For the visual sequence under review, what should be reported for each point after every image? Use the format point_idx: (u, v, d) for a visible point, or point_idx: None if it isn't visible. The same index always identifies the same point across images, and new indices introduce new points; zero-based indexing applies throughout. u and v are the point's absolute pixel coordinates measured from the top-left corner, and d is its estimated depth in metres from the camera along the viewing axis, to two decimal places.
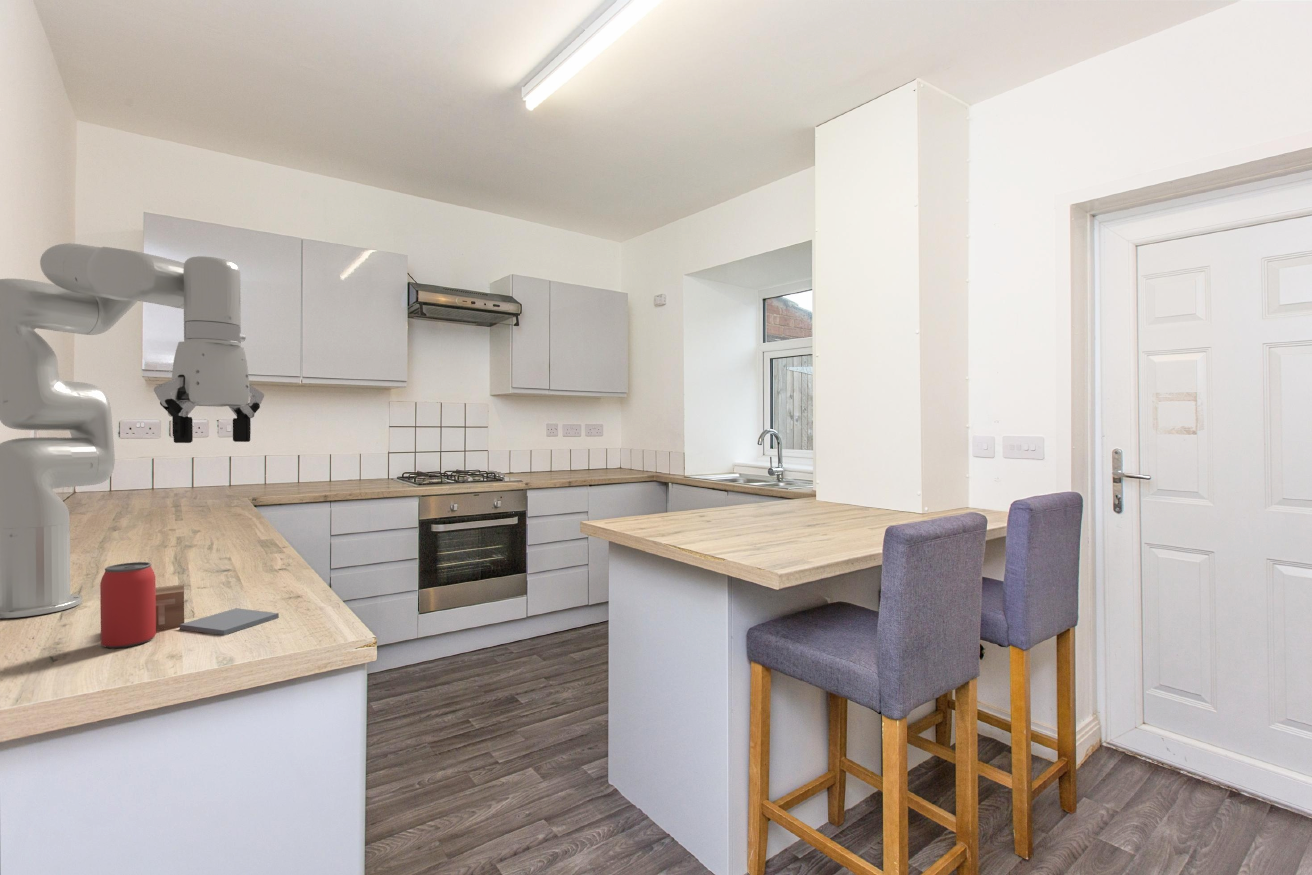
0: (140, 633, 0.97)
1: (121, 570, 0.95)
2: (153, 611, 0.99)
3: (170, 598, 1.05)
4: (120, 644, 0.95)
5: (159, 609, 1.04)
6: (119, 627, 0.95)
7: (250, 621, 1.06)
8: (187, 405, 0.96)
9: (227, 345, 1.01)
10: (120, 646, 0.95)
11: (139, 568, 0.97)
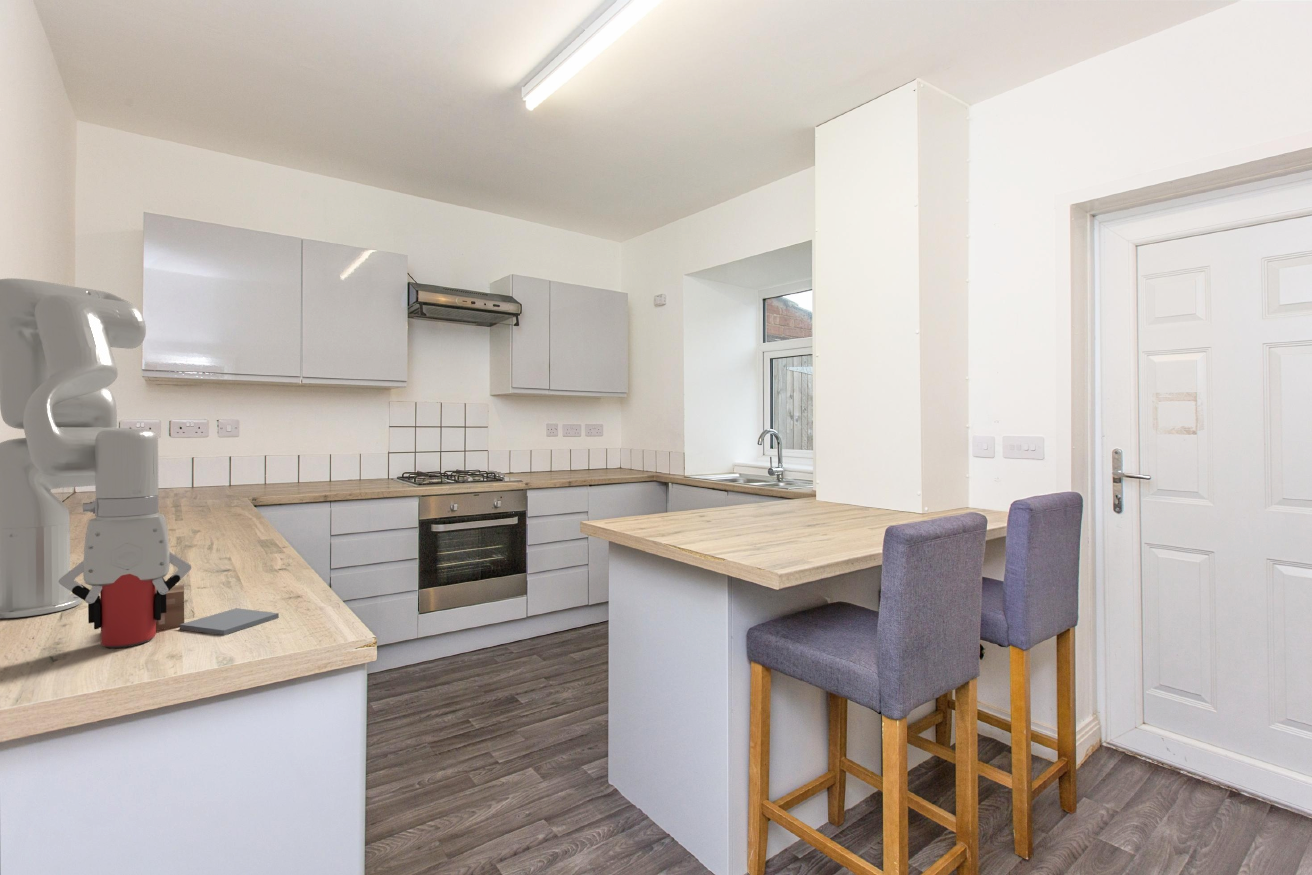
0: (141, 632, 0.97)
1: None
2: (153, 611, 0.99)
3: (170, 598, 1.05)
4: (120, 644, 0.95)
5: None
6: (119, 627, 0.95)
7: (250, 621, 1.06)
8: (163, 579, 1.01)
9: None
10: (120, 646, 0.95)
11: None
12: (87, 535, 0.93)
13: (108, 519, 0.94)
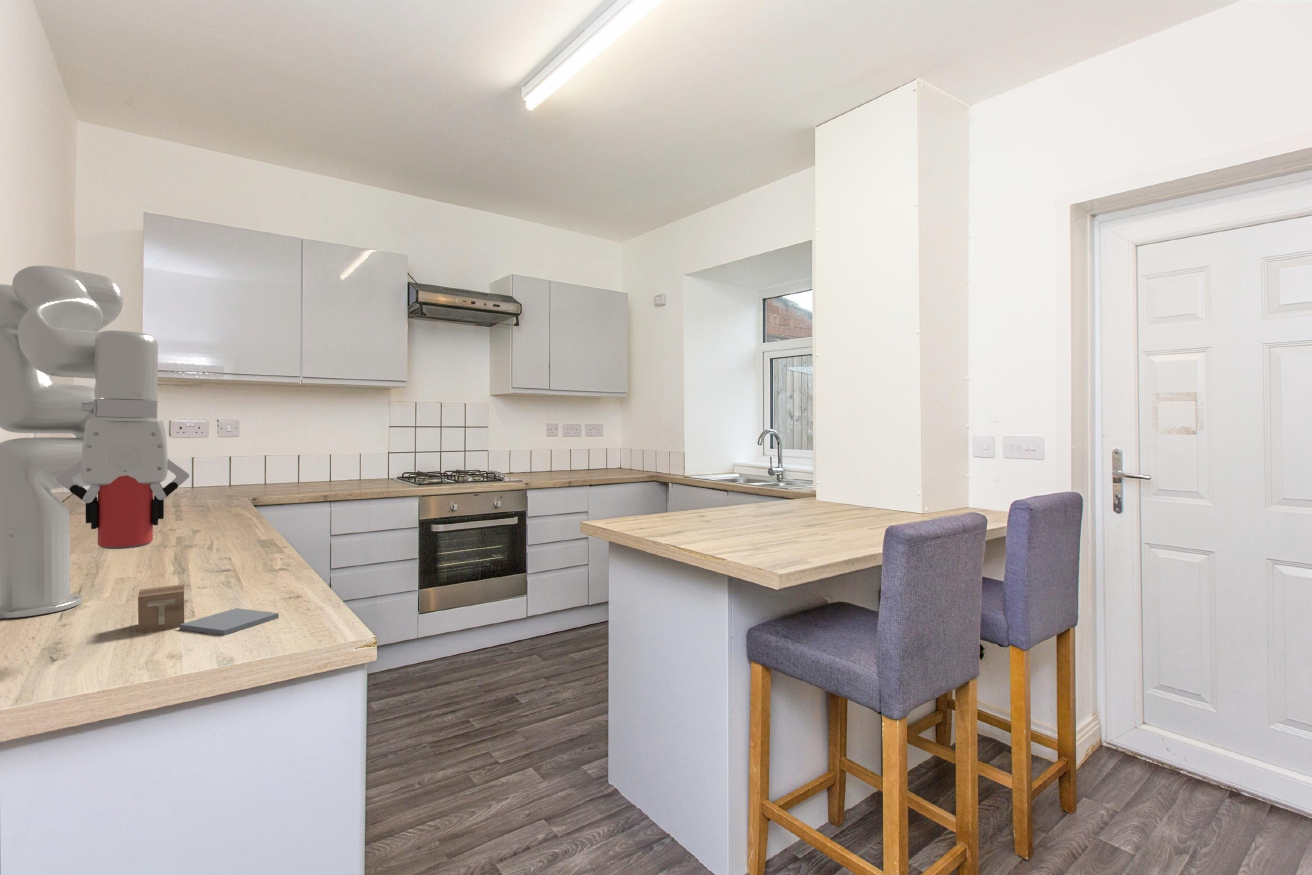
0: (137, 535, 0.97)
1: None
2: (150, 516, 0.99)
3: (170, 598, 1.05)
4: (117, 545, 0.95)
5: (159, 609, 1.04)
6: (116, 528, 0.95)
7: (250, 621, 1.06)
8: (160, 486, 1.02)
9: None
10: (117, 547, 0.95)
11: None
12: (85, 434, 0.93)
13: (107, 419, 0.94)
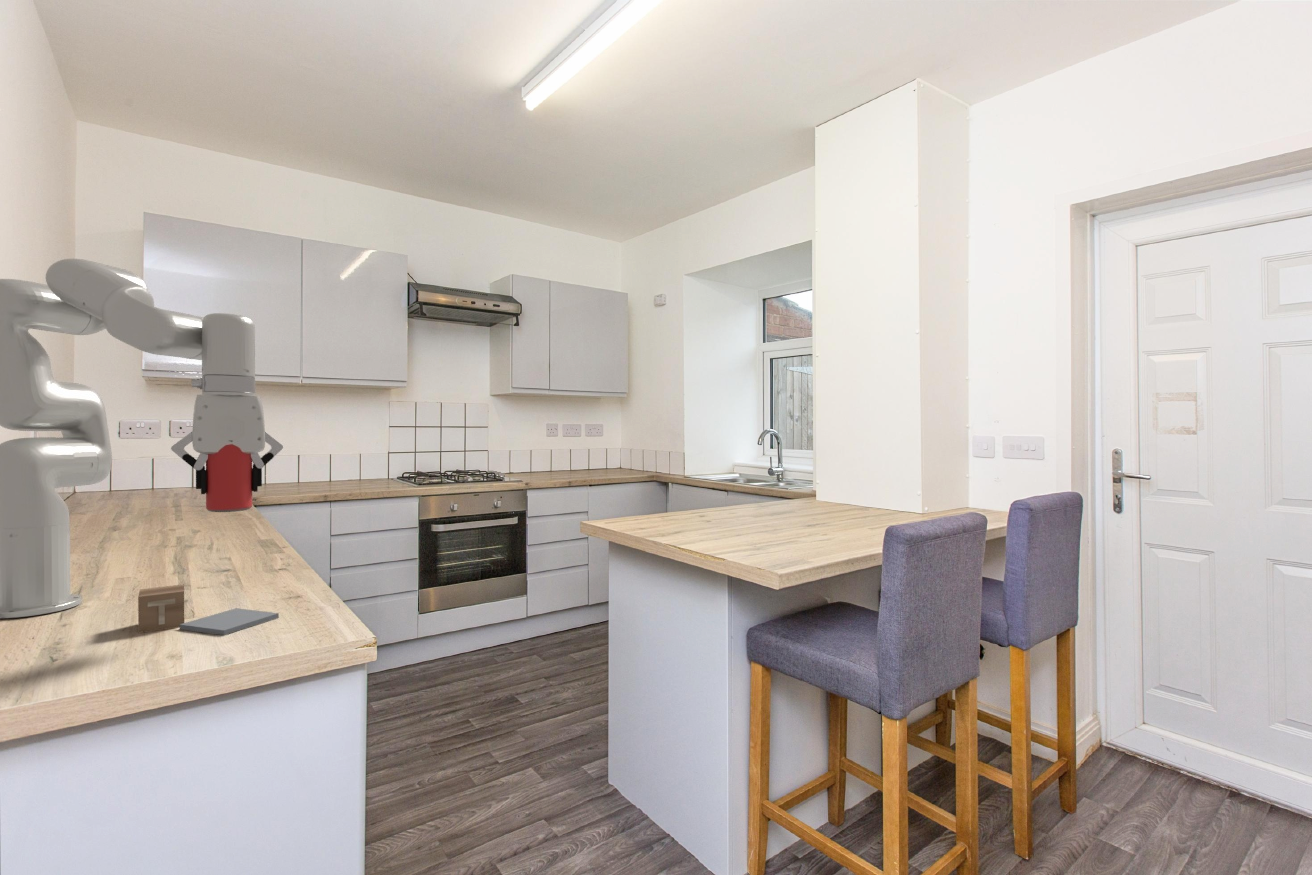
0: (241, 500, 1.06)
1: None
2: (251, 483, 1.08)
3: (170, 598, 1.05)
4: (224, 508, 1.04)
5: (159, 609, 1.04)
6: (224, 492, 1.04)
7: (250, 621, 1.06)
8: None
9: None
10: (224, 510, 1.04)
11: None
12: (196, 407, 1.03)
13: (215, 393, 1.03)
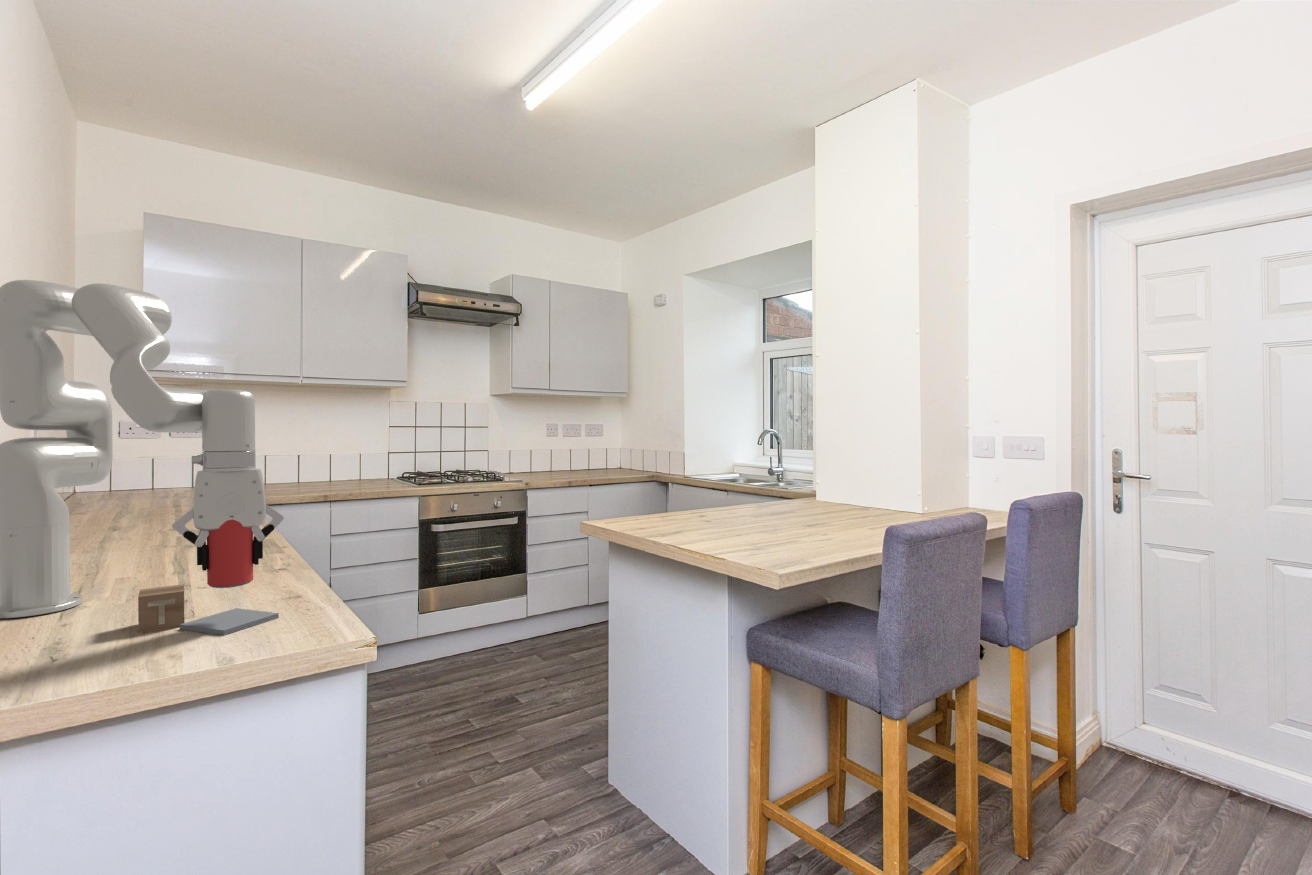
0: (243, 574, 1.06)
1: None
2: (252, 556, 1.08)
3: (171, 598, 1.05)
4: (226, 584, 1.04)
5: (159, 609, 1.04)
6: (225, 568, 1.04)
7: (250, 621, 1.06)
8: None
9: None
10: (225, 586, 1.05)
11: None
12: (197, 484, 1.03)
13: (215, 470, 1.04)
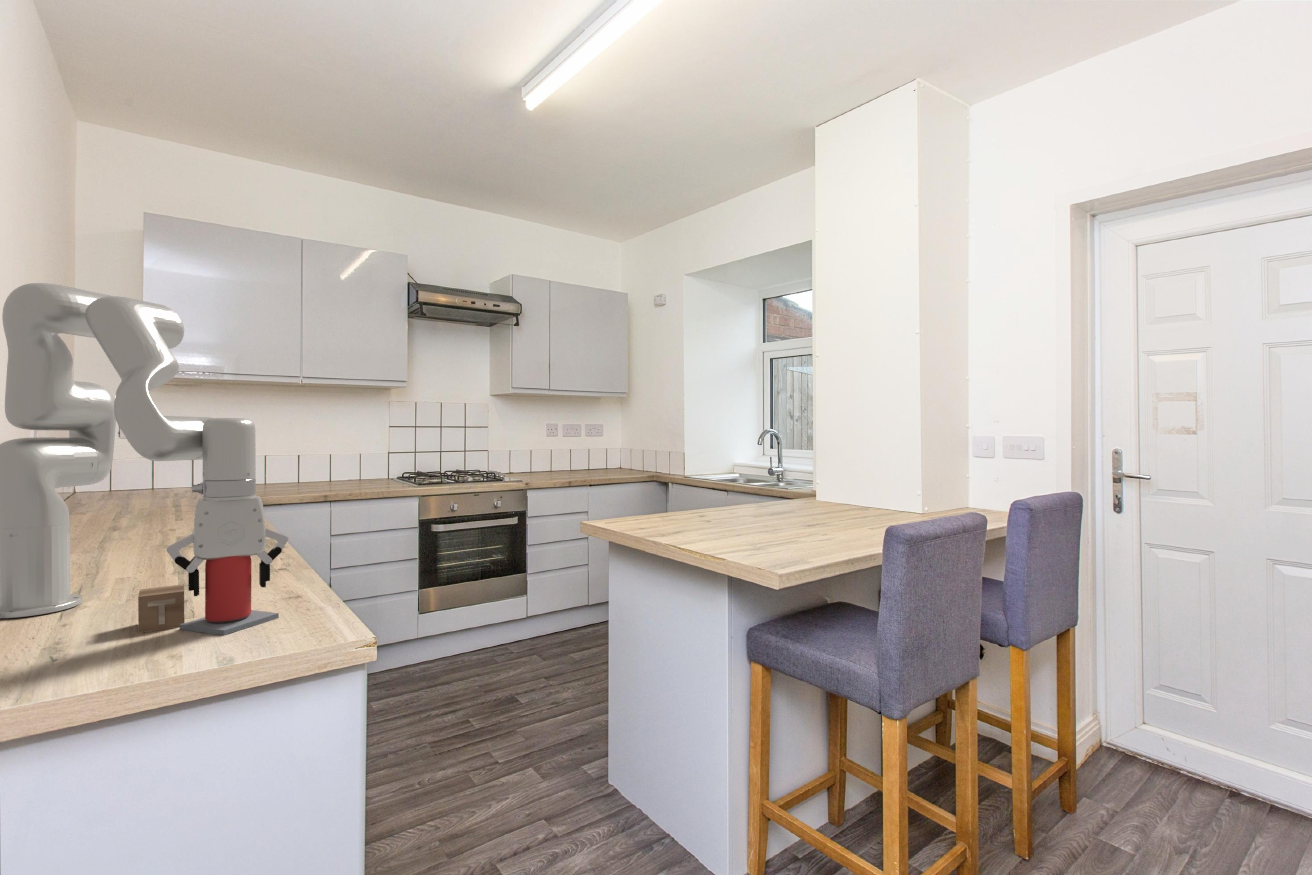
0: (241, 609, 1.06)
1: None
2: (250, 590, 1.08)
3: (171, 598, 1.05)
4: (224, 619, 1.04)
5: (159, 609, 1.04)
6: (223, 604, 1.04)
7: (250, 621, 1.06)
8: (263, 551, 1.12)
9: None
10: (223, 621, 1.05)
11: None
12: (197, 513, 1.03)
13: (215, 499, 1.04)
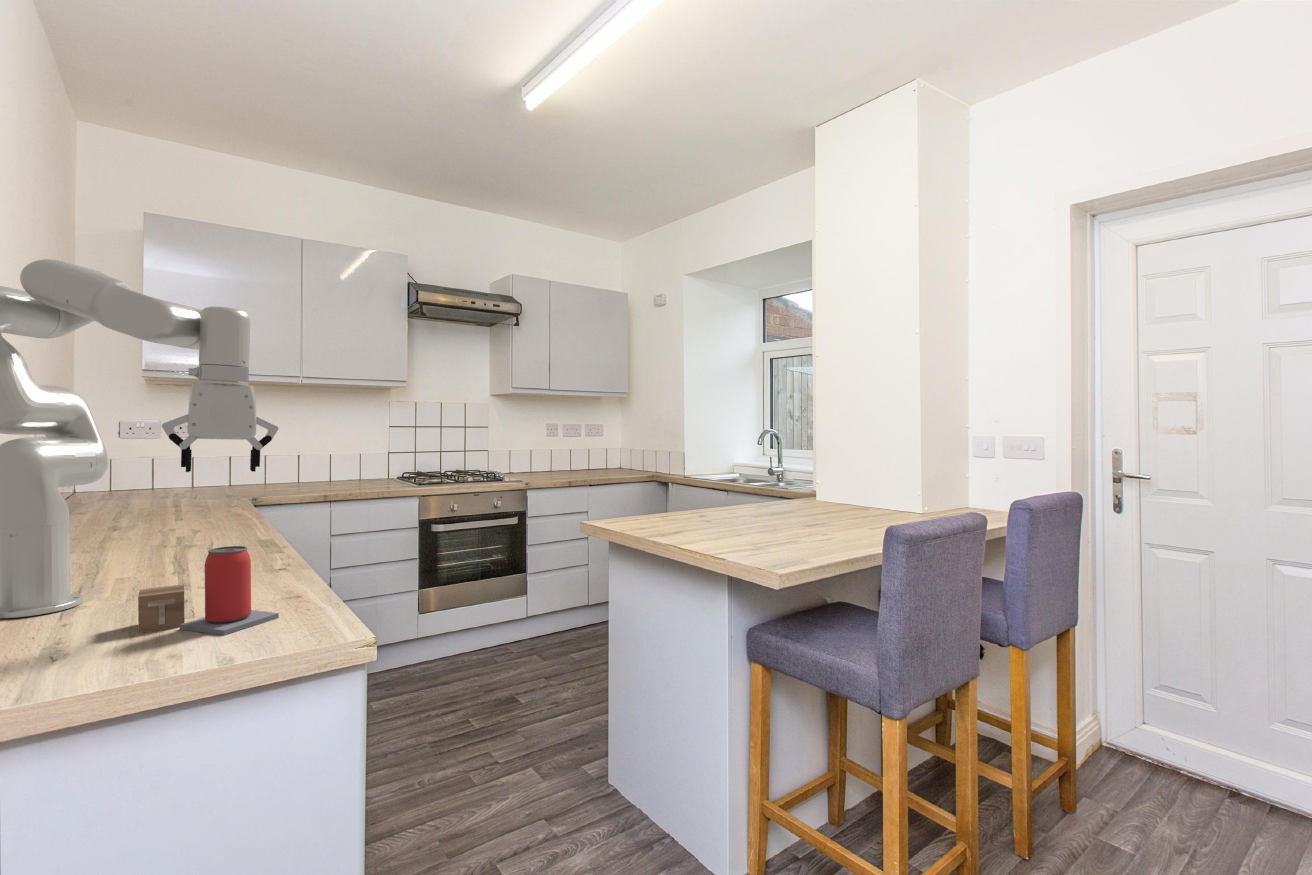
0: (241, 609, 1.06)
1: (224, 552, 1.05)
2: (250, 590, 1.08)
3: (171, 598, 1.05)
4: (224, 620, 1.04)
5: (159, 609, 1.04)
6: (223, 604, 1.04)
7: (250, 621, 1.06)
8: None
9: None
10: (223, 621, 1.05)
11: (239, 551, 1.06)
12: (192, 394, 1.09)
13: (209, 382, 1.10)
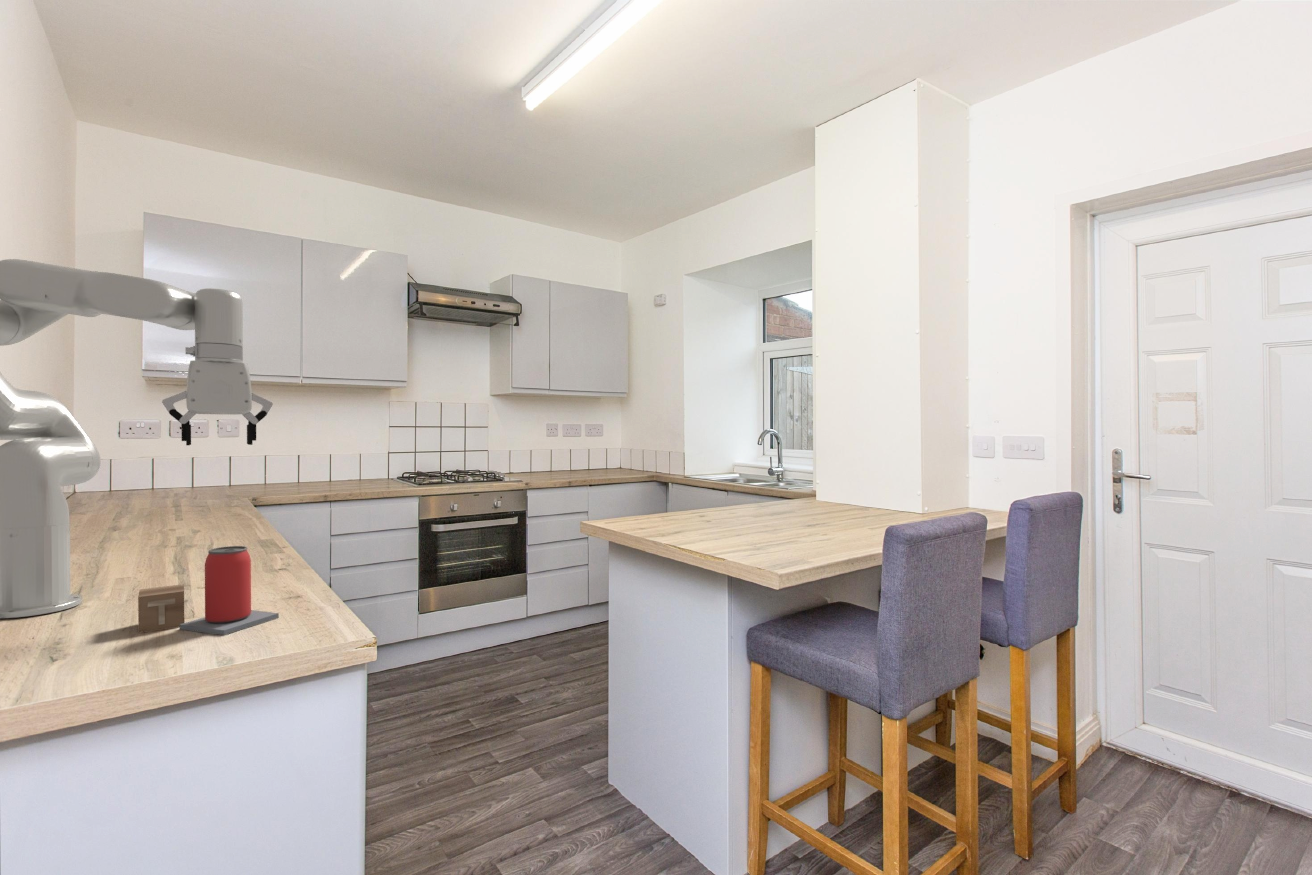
0: (241, 609, 1.06)
1: (224, 552, 1.05)
2: (250, 590, 1.08)
3: (171, 598, 1.05)
4: (224, 620, 1.04)
5: (159, 609, 1.04)
6: (223, 604, 1.04)
7: (250, 621, 1.06)
8: None
9: None
10: (223, 621, 1.05)
11: (239, 551, 1.06)
12: (189, 371, 1.16)
13: (206, 359, 1.16)
